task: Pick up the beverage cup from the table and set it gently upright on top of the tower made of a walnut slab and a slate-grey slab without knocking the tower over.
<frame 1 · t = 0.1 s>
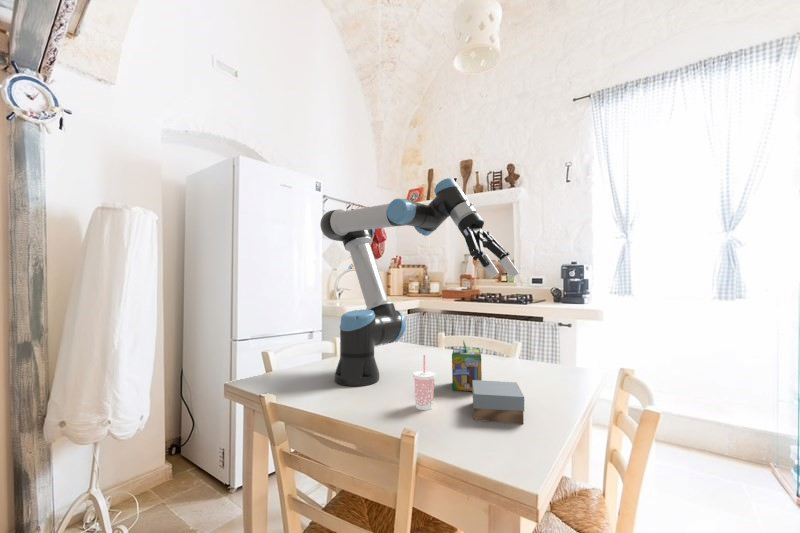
hand: (505, 275, 102), 36 cm above the table, tool tilted 35°, fingers open, 13 cm apart
slate top slab: (496, 401, 94), point 3 cm above the table
walnut base slab: (496, 415, 94), on the table
beverage cup: (424, 407, 97), on the table
chalk box: (466, 387, 115), on the table
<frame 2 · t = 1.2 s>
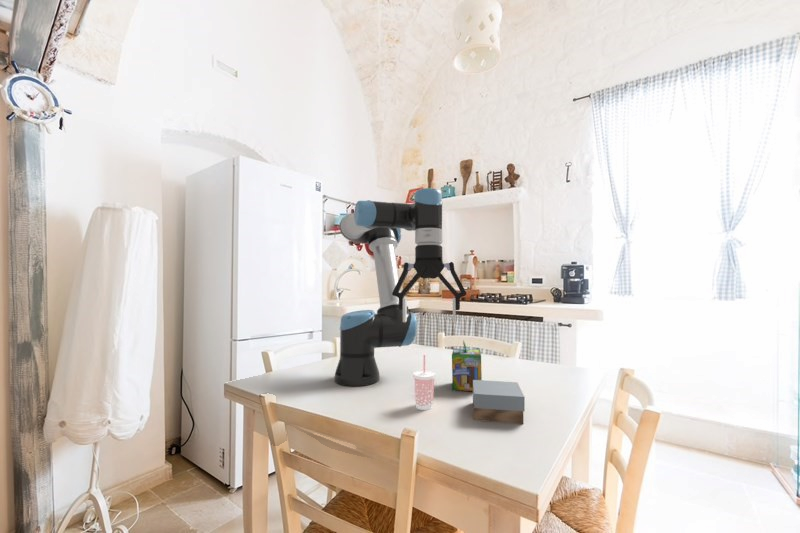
hand: (429, 322, 98), 23 cm above the table, tool pointing down, fingers open, 13 cm apart
nothing on the table moved.
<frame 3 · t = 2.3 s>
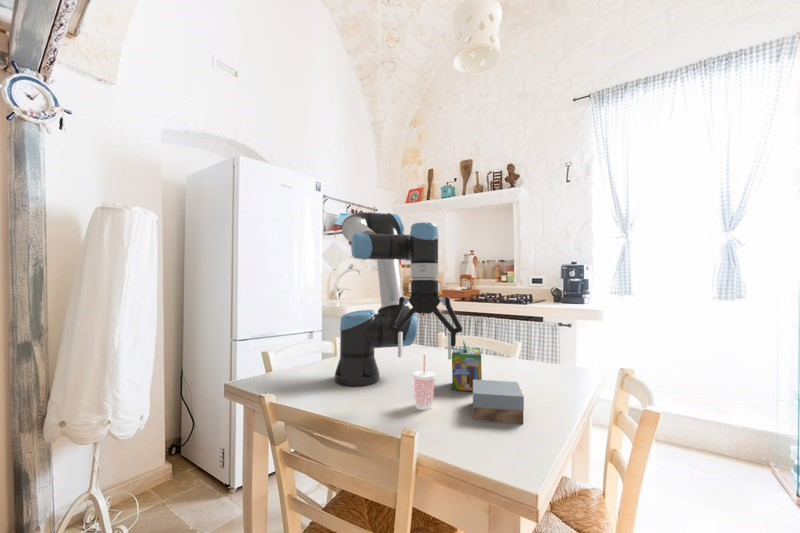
hand: (424, 357, 97), 13 cm above the table, tool pointing down, fingers open, 13 cm apart
slate top slab: (496, 400, 94), point 3 cm above the table, touching walnut base slab
walnut base slab: (496, 414, 94), on the table, touching slate top slab
everything else where it was.
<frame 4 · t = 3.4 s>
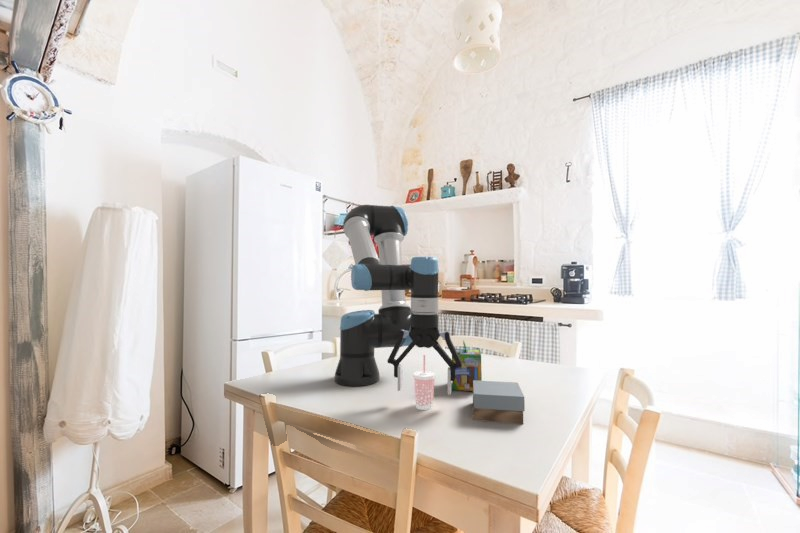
hand: (424, 391, 98), 4 cm above the table, tool pointing down, fingers open, 13 cm apart
nothing on the table moved.
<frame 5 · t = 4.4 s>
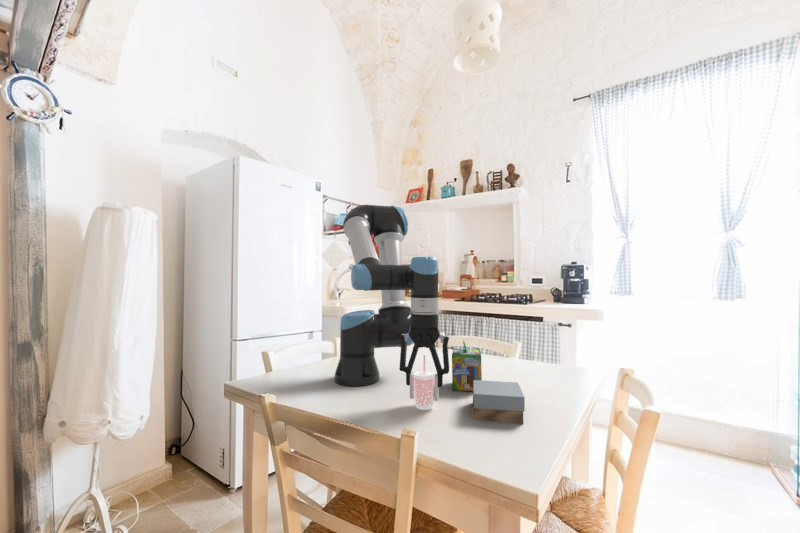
hand: (424, 397, 98), 2 cm above the table, tool pointing down, fingers closed on beverage cup, 6 cm apart
beverage cup: (424, 407, 97), on the table, touching gripper
everything else where it was.
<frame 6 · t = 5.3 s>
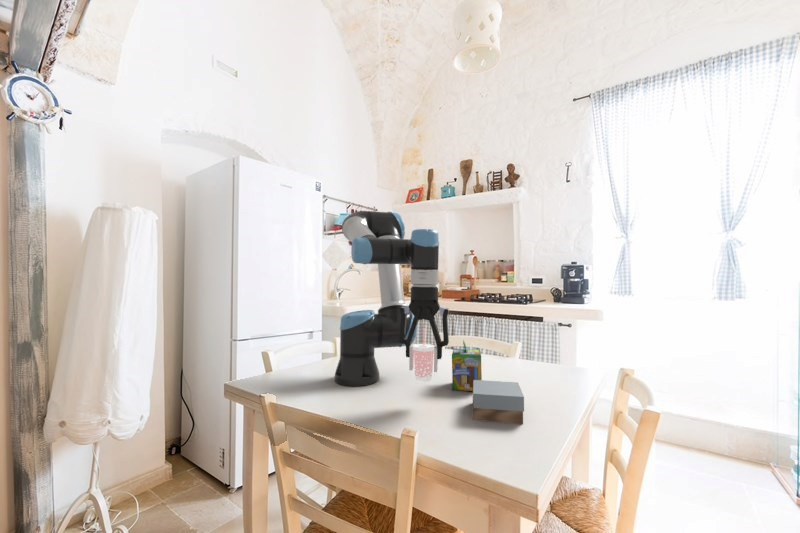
hand: (423, 369, 98), 10 cm above the table, tool pointing down, fingers closed on beverage cup, 6 cm apart
beverage cup: (423, 379, 98), point 7 cm above the table, touching gripper
everything else where it was.
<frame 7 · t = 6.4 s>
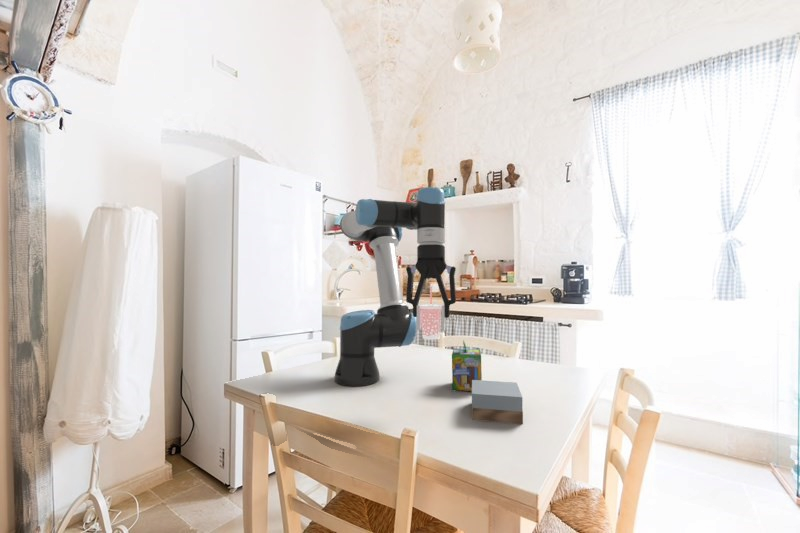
hand: (431, 329, 97), 21 cm above the table, tool pointing down, fingers closed on beverage cup, 6 cm apart
slate top slab: (495, 401, 93), point 3 cm above the table
walnut base slab: (496, 414, 94), on the table
beverage cup: (431, 339, 97), point 19 cm above the table, touching gripper
everything else where it was.
when the fingers open (10 cm above the table, at t = 11.1 s): beverage cup stays where it is, resting on slate top slab.
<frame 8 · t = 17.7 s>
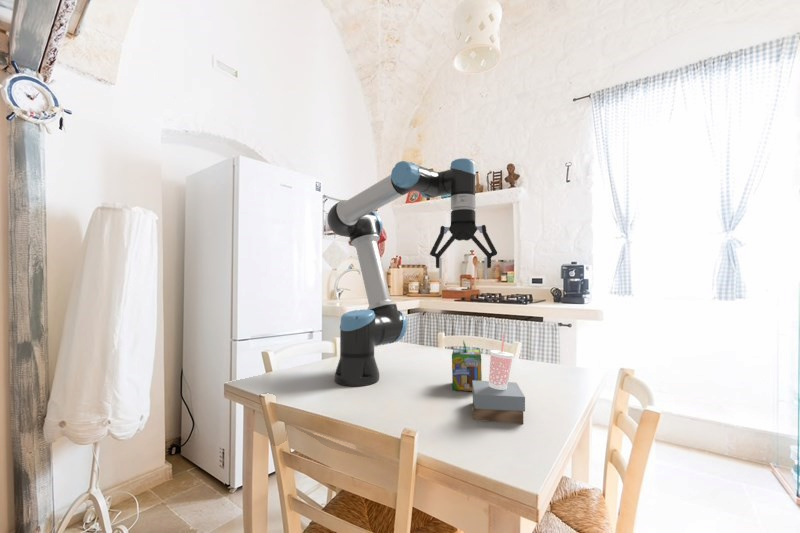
hand: (463, 279, 110), 35 cm above the table, tool pointing down, fingers open, 13 cm apart
slate top slab: (496, 401, 94), point 3 cm above the table, touching beverage cup, walnut base slab
walnut base slab: (496, 415, 94), on the table, touching slate top slab
beverage cup: (497, 387, 94), point 6 cm above the table, touching slate top slab
everything else where it was.
at the end: beverage cup inside the target area on the slate top slab (0.2 cm from its centre), point 3.6 cm above the slate top slab's base; beverage cup tilted 7°; slate top slab moved 0.7 cm from its start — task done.
